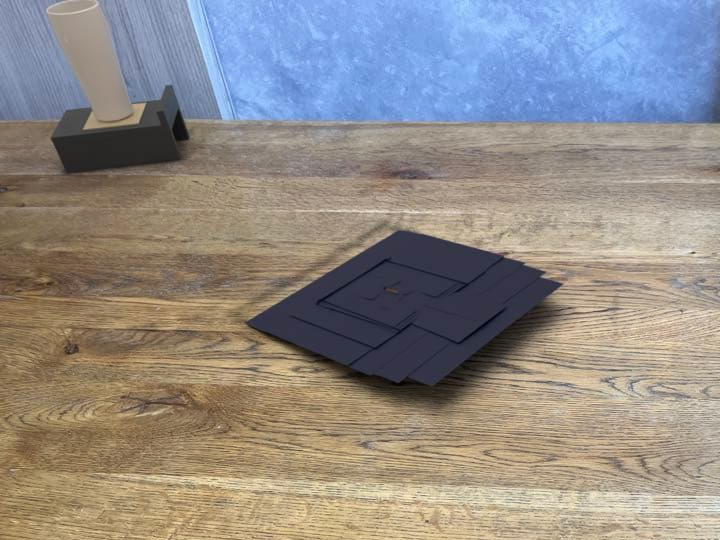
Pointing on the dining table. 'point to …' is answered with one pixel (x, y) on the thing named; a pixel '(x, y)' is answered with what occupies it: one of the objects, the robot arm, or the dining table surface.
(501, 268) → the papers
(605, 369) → the dining table surface
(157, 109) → the dark box with label
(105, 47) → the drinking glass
